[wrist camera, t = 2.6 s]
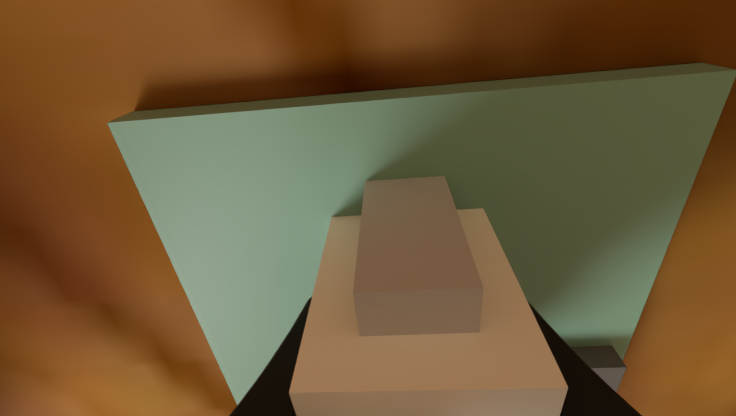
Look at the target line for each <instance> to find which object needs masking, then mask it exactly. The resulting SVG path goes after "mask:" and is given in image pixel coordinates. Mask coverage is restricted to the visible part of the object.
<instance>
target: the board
mask: <svg viewBox="0 0 736 416" xmlns="http://www.w3.org/2000/svg"><path fill="white" fill-rule="evenodd" d="M735 77H736V69H731V68H726V67H721V66H716V65H711V64H706V63H692V64H680V65H669V66H657V67H645V68H634V69H622V70H610V71H599V72H587V73H575V74H564V75H552V76H541V77H529V78H517V79H506V80H494V81H482V82H471V83H459V84H447V85H436V86H424V87H413V88H401V89H389V90H378V91H366V92H354V93H343V94H331V95H319V96H308V97H296V98H285V99H273V100H261V101H250V102H238V103H226V104H215V105H203V106H191V107H180V108H168V109H157V110H145V111H133V112H130V113H128V114H126V115H124V116H121V117H119V118H117V119H115V120H112V121H110V122H108V126H109V128H110V130H111V132H112V134H113V136H114V139H115V141H116V143H117V145H118V147H119V150H120V152H121V154H122V156H123V158H124V160H125V163H126V165H127V167H128V169H129V171H130V173H131V176H132V178H133V180H134V182H135V184H136V186H137V189H138V191H139V193H140V195H141V197H142V199H143V202H144V204H145V206H146V208H147V210H148V212H149V215H150V217H151V219H152V221H153V223H154V225H155V228H156V230H157V232H158V234H159V236H160V238H161V241H162V243H163V245H164V247H165V249H166V251H167V254H168V256H169V258H170V260H171V262H172V264H173V267H174V269H175V271H176V273H177V275H178V277H179V280H180V282H181V284H182V286H183V288H184V290H185V293H186V295H187V297H188V299H189V301H190V304H191V306H192V308H193V310H194V312H195V314H196V317H197V319H198V321H199V323H200V325H201V327H202V330H203V332H204V334H205V336H206V338H207V340H208V343H209V345H210V347H211V349H212V351H213V353H214V356H215V358H216V360H217V362H218V364H219V366H220V369H221V371H222V373H223V375H224V377H225V379H226V382H227V384H228V386H229V388H230V390H231V392H232V395H233V397H234V399H235V401H236V403H237V405H238V404H239V403H240V401H241V400H242V399H243V397H244V396H245V395H246V393H247V392H248V391H249V389H250V388H251V387H252V385H253V384H254V383H255V381H256V380H257V378H258V377H259V376H260V374H261V373H262V372H263V370H264V369H265V367H266V366H267V364H268V363H269V361H270V360H271V358H272V357H273V355H274V354H275V352H276V351H277V349H278V348H279V346H280V345H281V343H282V342H283V340H284V339H285V337H286V336H287V334H288V332H289V331H290V329H291V328H292V326H293V324H294V323H295V321H296V320H297V318H298V316H299V314H300V313H301V311H302V309H303V308H304V306H305V304H306V302H307V301H308V300H309V299H310V298H311V297H312V295H313V291H314V287H315V283H316V279H317V275H318V271H319V266H320V262H321V258H322V254H323V250H324V246H325V242H326V238H327V234H328V229H329V225H330V221H331V217H341V216H358V215H361V213H362V204H363V194H364V185H365V181H375V180H390V179H405V178H420V177H435V176H445V178H446V181H447V183H448V186H449V189H450V192H451V195H452V198H453V201H454V204H455V207H456V210H461V209H478V208H483V209H484V211H485V213H486V215H487V217H488V219H489V221H490V224H491V226H492V228H493V230H494V232H495V234H496V236H497V238H498V240H499V243H500V245H501V247H502V249H503V251H504V253H505V255H506V257H507V259H508V262H509V264H510V266H511V268H512V270H513V272H514V274H515V276H516V278H517V280H518V283H519V285H520V287H521V289H522V291H523V293H524V295H525V297H526V299H527V301H528V302H529V303H530V304H531V305H532V306H533V307H534V308H535V310H536V311H537V312H538V313H539V314H540V315H541V316H542V317H543V318H544V320H545V321H546V322H547V323H548V324H549V325H550V326H551V327H552V328H553V329H554V330H555V332H556V333H557V334H558V335H559V336H560V337H561V338H562V339H563V340H564V341H565V342H566V343H567V344H568V345H569V346H570V347H571V348H572V349H573V350H574V351H575V352H576V353H577V354H578V355H579V356H580V358H581V359H582V360H583V361H584V362H585V363H586V364H587V365H588V366H589V367H590V368H591V369H592V370H593V371H594V372H595V373H596V374H598V375H599V376H600V377H601V378H602V379H603V380H604V381H605V382H606V383H607V384H608V385H609V386H610V387H611V388H612V389H613V390H614V391H615V392H617V390H618V387H619V385H620V382H621V380H622V378H623V375H624V373H625V370H626V368H627V367H626V366H625V364H624V363H623V361H622V360H623V358H624V355H625V353H626V350H627V348H628V345H629V343H630V340H631V338H632V335H633V333H634V330H635V328H636V325H637V323H638V320H639V318H640V315H641V313H642V310H643V308H644V305H645V303H646V300H647V298H648V295H649V293H650V290H651V288H652V285H653V283H654V280H655V278H656V275H657V273H658V270H659V268H660V265H661V263H662V260H663V258H664V255H665V253H666V250H667V248H668V245H669V243H670V240H671V238H672V235H673V233H674V230H675V228H676V225H677V223H678V220H679V218H680V215H681V213H682V210H683V208H684V205H685V203H686V200H687V198H688V195H689V193H690V190H691V188H692V185H693V183H694V180H695V178H696V175H697V173H698V170H699V168H700V165H701V163H702V160H703V158H704V155H705V152H706V150H707V147H708V145H709V142H710V140H711V137H712V135H713V132H714V130H715V127H716V125H717V122H718V120H719V117H720V115H721V112H722V110H723V107H724V105H725V102H726V100H727V97H728V95H729V92H730V90H731V87H732V85H733V82H734V80H735Z"/></svg>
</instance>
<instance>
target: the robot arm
mask: <svg viewBox="0 0 736 416" xmlns="http://www.w3.org/2000/svg"><path fill="white" fill-rule="evenodd" d="M311 299H312V297H311V298H310V299H309V300H308V301H307V302H306V304H305V306H304V308H303V309H302V311H301V313H300V314H299V316H298V318H297V320H296V321H295V323H294V324H293V326H292V328H291V329H290V331H289V332H288V334H287V336H286V337H285V339H284V340H283V342H282V343H281V345H280V346H279V348H278V349H277V351H276V352H275V354H274V355H273V357H272V358H271V360H270V361H269V363H268V364H267V366H266V367H265V369H264V370H263V372H262V373H261V374H260V376H259V377H258V378H257V380H256V381H255V383H254V384H253V385H252V387H251V388H250V389H249V391H248V392H247V393H246V395H245V396H244V397H243V399H242V400H241V401H240V403H239V404H238V405H237V407H236V408H235V409H234V410H233V412H232V413H231V414H230V416H296V413H295V410H294V407H293V404H292V401H291V398H290V395H289V390H290V386H291V382H292V378H293V374H294V370H295V365H296V361H297V357H298V353H299V349H300V345H301V341H302V337H303V332H304V328H305V324H306V320H307V316H308V312H309V308H310V304H311ZM527 302H528V301H527ZM528 304H529V306H530V308H531V310H532V312H533V314H534V316H535V318H536V321H537V323H538V325H539V327H540V329H541V331H542V333H543V335H544V337H545V340H546V342H547V344H548V346H549V348H550V350H551V352H552V354H553V356H554V358H555V361H556V363H557V365H558V367H559V369H560V371H561V373H562V375H563V377H564V380H565V382H566V384H567V386H568V390H567V394H566V397H565V400H564V404H563V407H562V410H561V413H560V416H642V415H640V414H639V413H638V412H637V411H636V410H635V409H634V408H633V407H632V406H630V405H629V404H628V403H627V402H626V401H625V400H624V399H623V398H622V397H621V396H620V395H619V394H617V393H616V392H615V391H614V390H613V389H612V388H611V387H610V386H609V385H608V384H607V383H606V382H605V381H604V380H603V379H602V378H601V377H600V376H599V375H598V374H596V373H595V372H594V371H593V370H592V369H591V368H590V367H589V366H588V365H587V364H586V363H585V362H584V361H583V360H582V359H581V358H580V356H579V355H578V354H577V353H576V352H575V351H574V350H573V349H572V348H571V347H570V346H569V345H568V344H567V343H566V342H565V341H564V340H563V339H562V338H561V337H560V336H559V335H558V334H557V333H556V332H555V330H554V329H553V328H552V327H551V326H550V325H549V324H548V323H547V322H546V321H545V320H544V318H543V317H542V316H541V315H540V314H539V313H538V312H537V311H536V310H535V308H534V307H533V306H532V305H531V304H530V303H529V302H528Z"/></svg>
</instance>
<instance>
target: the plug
mask: <svg viewBox="0 0 736 416" xmlns="http://www.w3.org/2000/svg"><path fill="white" fill-rule="evenodd" d="M567 390H568V386H567V384H566V382H565V380H564V377H563V375H562V373H561V371H560V369H559V367H558V365H557V363H556V361H555V358H554V356H553V354H552V352H551V350H550V348H549V346H548V344H547V342H546V340H545V337H544V335H543V333H542V331H541V329H540V327H539V325H538V323H537V321H536V318H535V316H534V314H533V312H532V310H531V308H530V306H529V304H528V302H527V299H526V297H525V295H524V293H523V291H522V289H521V287H520V285H519V283H518V280H517V278H516V276H515V274H514V272H513V270H512V268H511V266H510V264H509V262H508V259H507V257H506V255H505V253H504V251H503V249H502V247H501V245H500V243H499V240H498V238H497V236H496V234H495V232H494V230H493V228H492V226H491V224H490V221H489V219H488V217H487V215H486V213H485V211H484V209H483V208H478V209H461V210H456V207H455V204H454V201H453V198H452V195H451V192H450V189H449V186H448V183H447V181H446V178H445V176H435V177H420V178H405V179H390V180H375V181H365V185H364V194H363V204H362V213H361V215H358V216H341V217H331V221H330V225H329V229H328V234H327V238H326V242H325V246H324V250H323V254H322V258H321V262H320V266H319V271H318V275H317V279H316V283H315V287H314V291H313V295H312V299H311V304H310V308H309V312H308V316H307V320H306V324H305V328H304V332H303V337H302V341H301V345H300V349H299V353H298V357H297V361H296V365H295V370H294V374H293V378H292V382H291V386H290V390H289V395H290V398H291V401H292V404H293V407H294V410H295V413H296V416H560V413H561V410H562V407H563V404H564V400H565V397H566V394H567Z"/></svg>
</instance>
